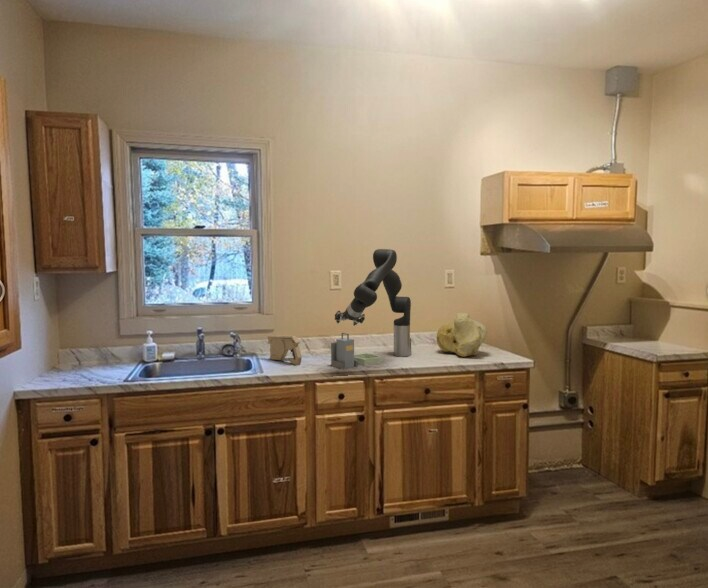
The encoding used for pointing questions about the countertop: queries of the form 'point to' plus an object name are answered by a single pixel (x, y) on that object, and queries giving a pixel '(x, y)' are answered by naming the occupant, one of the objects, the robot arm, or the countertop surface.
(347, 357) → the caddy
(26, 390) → the countertop surface
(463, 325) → the sculpture
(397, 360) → the countertop surface
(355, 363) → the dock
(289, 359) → the tan cutout panel
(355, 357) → the tray
